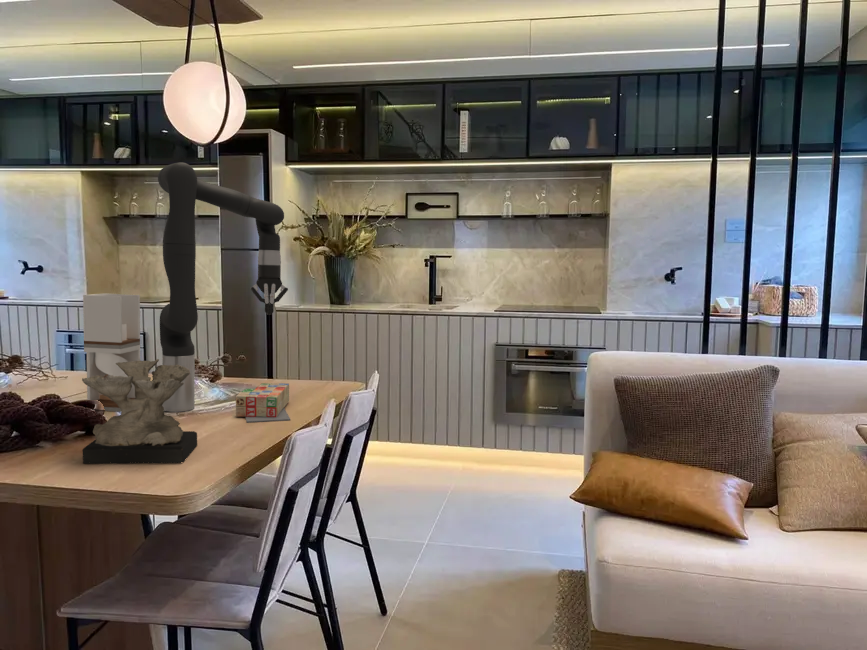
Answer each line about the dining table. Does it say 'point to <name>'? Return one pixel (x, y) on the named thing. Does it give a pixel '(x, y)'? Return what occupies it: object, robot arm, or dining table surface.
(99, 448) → the coral
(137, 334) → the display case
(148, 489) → the dining table surface
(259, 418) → the mat
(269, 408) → the stack of blocks
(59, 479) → the dining table surface
